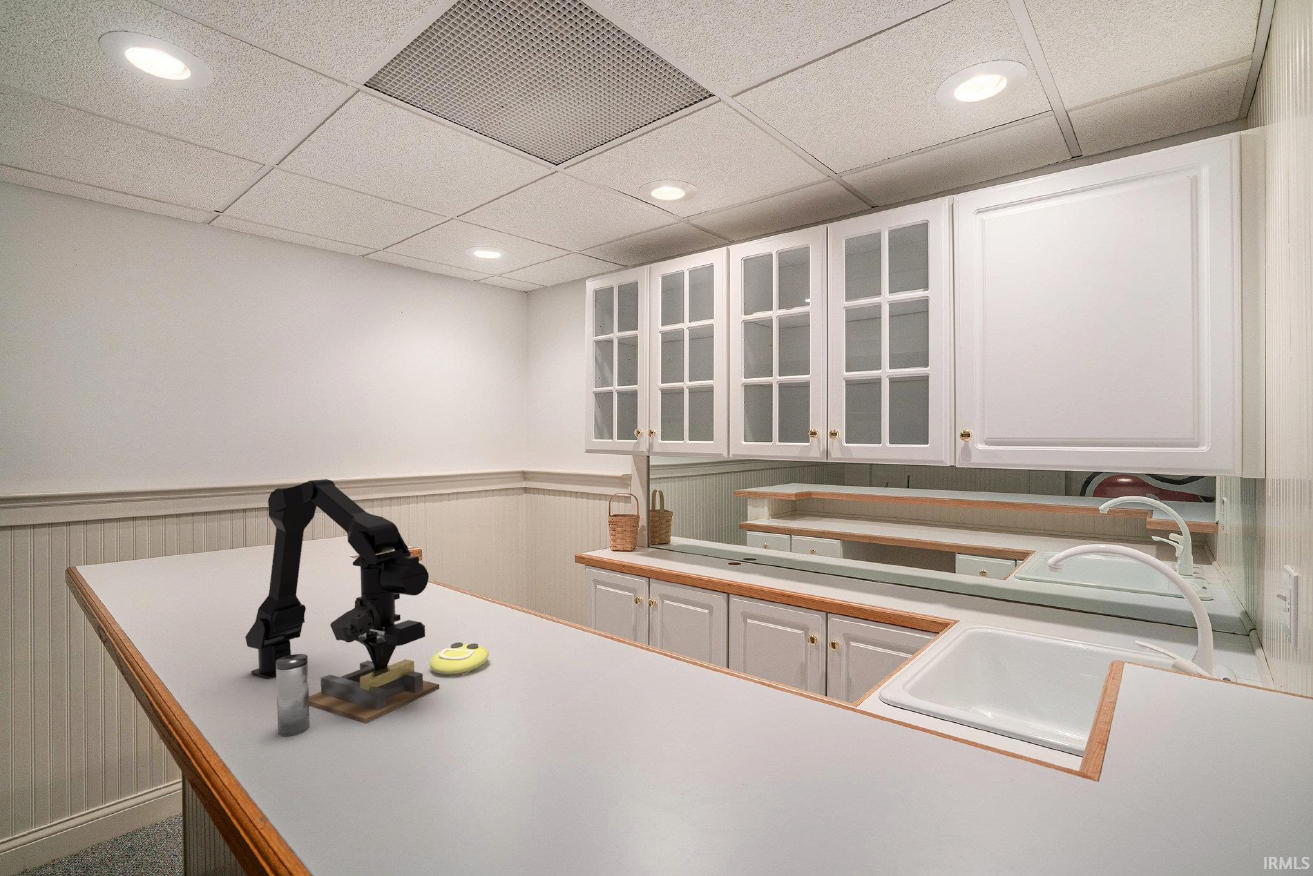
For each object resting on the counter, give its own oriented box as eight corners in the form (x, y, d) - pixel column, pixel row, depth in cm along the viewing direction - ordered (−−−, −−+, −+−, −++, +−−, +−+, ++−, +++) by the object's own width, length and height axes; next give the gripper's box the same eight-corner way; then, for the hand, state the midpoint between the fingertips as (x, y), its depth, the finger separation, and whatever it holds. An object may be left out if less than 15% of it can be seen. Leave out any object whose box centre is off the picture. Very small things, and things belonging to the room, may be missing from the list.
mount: (302, 703, 116) (301, 682, 116) (377, 673, 130) (377, 654, 130) (365, 723, 107) (365, 701, 107) (439, 688, 121) (438, 669, 121)
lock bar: (360, 688, 112) (360, 677, 112) (405, 669, 121) (405, 659, 121) (369, 690, 111) (368, 679, 111) (414, 671, 120) (414, 661, 120)
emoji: (471, 663, 125) (497, 639, 137) (416, 661, 127) (447, 637, 139) (472, 682, 125) (499, 656, 137) (418, 679, 128) (448, 654, 139)
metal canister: (272, 732, 104) (270, 661, 104) (299, 721, 108) (297, 652, 108) (288, 738, 102) (286, 665, 102) (315, 727, 106) (313, 656, 106)
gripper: (305, 595, 114) (308, 680, 115) (372, 606, 105) (375, 699, 106) (360, 582, 124) (362, 660, 124) (426, 591, 115) (428, 675, 115)
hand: (380, 673), depth 117 cm, fingers closed
